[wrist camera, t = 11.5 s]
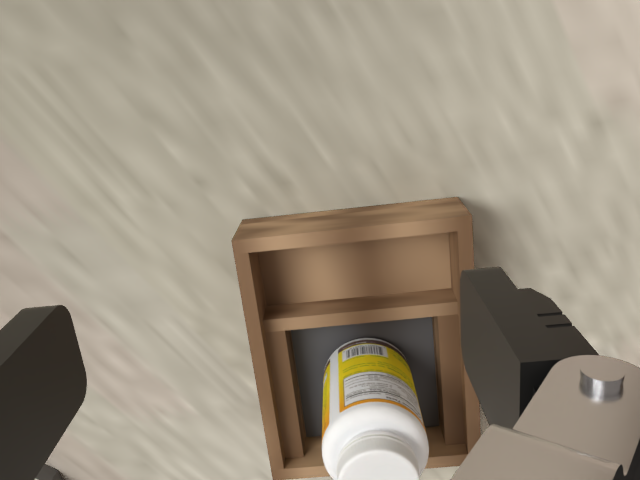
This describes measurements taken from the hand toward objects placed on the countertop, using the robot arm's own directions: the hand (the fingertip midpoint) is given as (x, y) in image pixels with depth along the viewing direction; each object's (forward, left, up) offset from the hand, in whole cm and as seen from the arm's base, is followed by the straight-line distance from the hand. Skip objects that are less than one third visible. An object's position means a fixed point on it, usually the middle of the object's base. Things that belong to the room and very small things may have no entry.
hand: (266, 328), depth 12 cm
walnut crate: (+2, -12, -24) cm, 27 cm away
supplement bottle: (+2, -15, -23) cm, 27 cm away
